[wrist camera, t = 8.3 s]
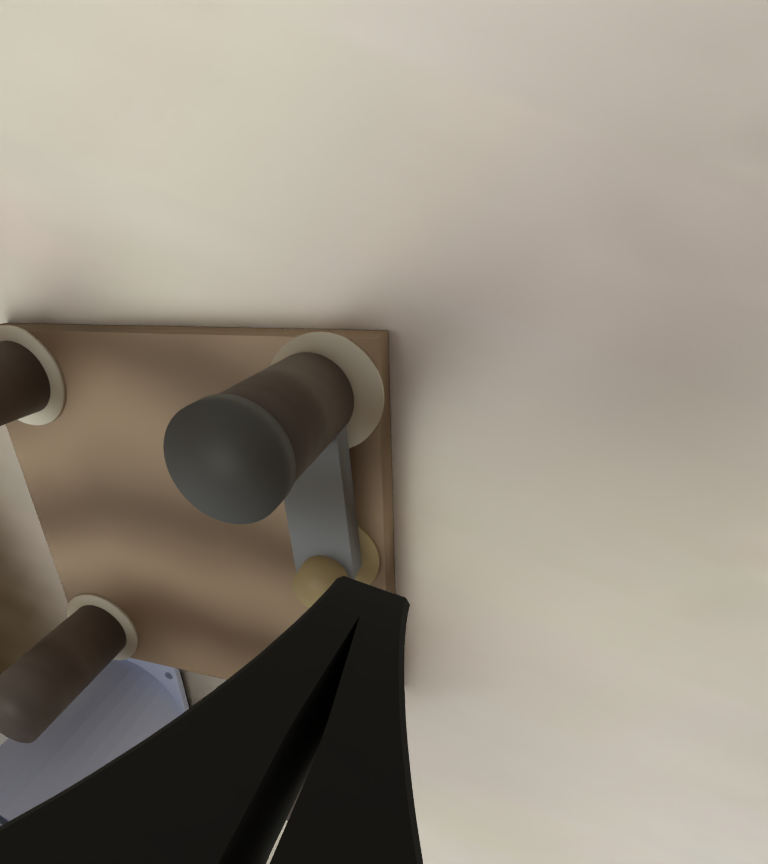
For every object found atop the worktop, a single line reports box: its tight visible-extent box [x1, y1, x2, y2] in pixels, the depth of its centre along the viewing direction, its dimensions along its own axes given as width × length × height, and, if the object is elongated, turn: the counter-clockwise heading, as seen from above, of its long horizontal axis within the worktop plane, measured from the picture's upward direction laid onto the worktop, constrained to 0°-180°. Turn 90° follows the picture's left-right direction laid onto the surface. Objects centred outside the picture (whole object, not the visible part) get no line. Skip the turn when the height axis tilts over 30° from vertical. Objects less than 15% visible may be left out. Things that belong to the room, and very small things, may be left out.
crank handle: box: [163, 352, 362, 608], centre depth 16 cm, size 10×3×6 cm, turn 5°
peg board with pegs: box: [0, 323, 395, 821], centre depth 20 cm, size 18×18×7 cm
